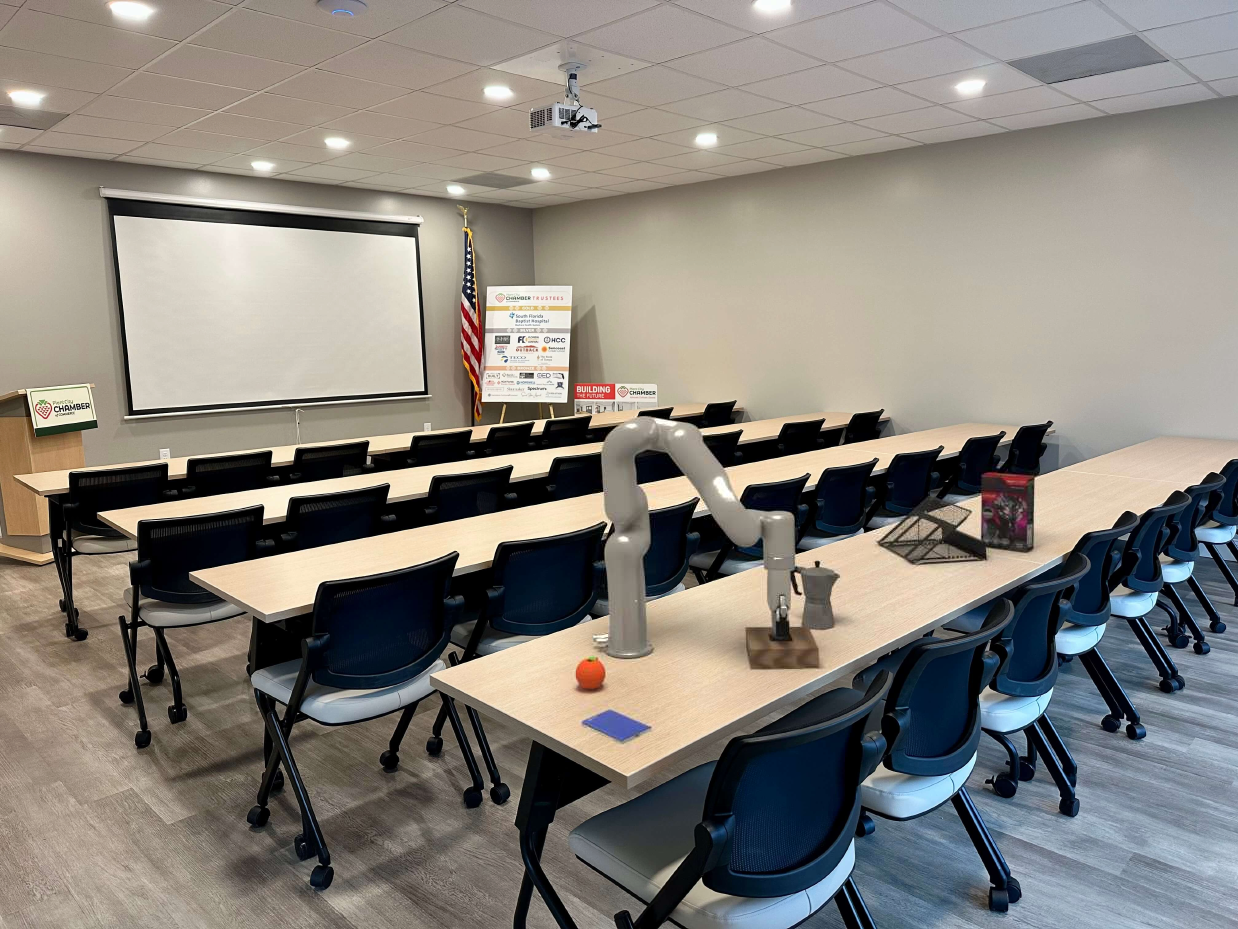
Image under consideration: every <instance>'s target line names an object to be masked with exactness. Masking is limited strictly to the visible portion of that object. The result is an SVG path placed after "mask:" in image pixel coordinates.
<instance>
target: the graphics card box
mask: <svg viewBox="0 0 1238 929" xmlns="http://www.w3.org/2000/svg"><path fill="white" fill-rule="evenodd" d="M1035 478H1036V475H1027V474H1026V475H1025V474H1012V473H1001V472H1000V473H998V472H985V473H983V474H982V475H981V498H980V499H981V504H980V505H981V507H980V508H981V509H980V510H981V511H980V512H981V513H980V514H981V515H980V516H981V517H980V540H983V541H985V542H986V548H990V549H991V548H992V549H1001V550H1009V551H1017V552H1024V553H1026V552H1027V553H1028V552H1029V551H1032V550H1034V548H1035V547H1034V545H1035V544H1034V539H1035Z"/></svg>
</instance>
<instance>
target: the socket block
mask: <svg viewBox="0 0 1238 929" xmlns="http://www.w3.org/2000/svg"><path fill="white" fill-rule="evenodd" d="M744 629H745V649H746V654H747V658H748V663H749V668H750V670H803V669H802V668H820V665H819V664H820V663H819V662H820V660H819V659H820V655H819V654H820V653H819V646H818V645H817V642H816V640H815V637H814V636H813V633H812V631H811V629H809V627H804V626H789V632H790V636H789V641H772V626H758V627H755V626H753V627H752V626H751V627H746V626H745V628H744Z"/></svg>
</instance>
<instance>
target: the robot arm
mask: <svg viewBox="0 0 1238 929" xmlns="http://www.w3.org/2000/svg"><path fill="white" fill-rule="evenodd" d="M646 450H650V451H657V452H662V453H667V454H668V455H669V457H670V459H672V461H673V462H674V463H675V465H676V466H677V467H678V468H679V469H680V471H681V472H682V473H683V474H684V476H685V477H686V479H688V481H689V482H690V484H691V485H692V486H693V487H694V489H695V490H696V491H697V493H698V495H699V497H700V498H701V501H702V502H703V503H704V505H705V506H706V508H707V509H708V512H709V513H710V514H711V516H712V517H713V519H714V520H715V521H716V523H717V524H718V525H719V528H721V530H723V532H724V533H725V535H726V536H727V537H728V538H729V540H730V541H732V542H733V543H734V544H735V545H737V546H739V547H742V548H749V547H752V546H753V545H756V543H758V541H759V540H760V539H762V540H763V541H762V542H763V543H762V545H763V569H764V570H765V571H767V572H766V575H767V576H766V579H767V580H766V583H767V584H766V585H767V587H766V602H767V606H768V608H769V610H770V612H771V616H770V617H772V611H773V610H776V616H777V620H776V637H789V636H790V632H789V627H790V619H789V618H790V617H789V616H790V615H789V611H790V610H791V605H792V604H791V600H792V583H791V574H790V571H792V570H794V569H795V566H796V544H795V543H796V541H795V540H796V538H795V537H796V534H795V532H796V531H795V527H796V526H795V524H796V522H795V516H794V514H792V512H790V511H784V510H774V511H773V510H772V511H764V510H757V509H748V508H747V509H746V508H745V506H744V505H743V504H742V502H741V501H740V500H739V498H738V497H737V495H736V493H735V491H734V489H733V487H732V484H731V482H730V479H729V478H730V477H729V476H728V473H727V472H726V469H725V468H724V467H723V465H722V464H721V463H720V462H719V460H718V459H717V458H716V457H715V455H714V454H713V453H712V451H711V450H710V449H709V448H708V446H707V445H706V444H705V442H704V438H703V435H702V431H701V430H700V429H699V428H698V427H697V426H696V425H694V424H692V423H689V422H684V421H683V422H682V421H677V420H676V421H675V420H669V419H664V418H659V417H658V418H657V417H652V416H646V415H645V416H637V417H634V418H631V419H629V420H626V421H625V422H623V423H621V424H619V425H617V426H616V427H614V429H612V430H611V431H610V432H609V433H608V434H607V435H606V437H605V440H604V442H603V445H602V448H601V469H602V470H601V474H602V487H603V489H602V490H603V503H604V504H603V507H604V512H605V516H606V517H607V519H608V520H609V521H610V523H612V524H613V525H614V532H613V533H612V534H611V535H610V536H609V538H608V539H607V540H606V543H605V546H604V563H605V568H606V569H605V570H606V577H607V592H608V593H607V594H608V595H607V596H608V616H609V632H605V634H600V633H599V634H598V633H593V635H592V636H593V637H592V638H593V639H592V641H593V643H595V642H596V644H597V645H604V652H605V653H606V655H608V654H609V655H608V656H610V657H614V658H619V659H634V658H642V657H644V656H647V655H649V654H650V653H652V652H653V651H654V644H653V642H652V641H650V640H648V628H647V627H648V626H647V602H646V600H647V599H646V598H647V596H646V581H645V580H646V579H645V570H644V562H643V561H644V560H643V559H644V556H645V554H647V552H648V550H649V548H650V545H651V525H650V514H649V512H650V511H649V502H648V501H649V500H648V496H647V494H646V492H645V490H644V488H642V487H641V486H640V485H638V484H637V483H638V482H637V469H636V463H635V458H636V456H637V454H640V453H642V452H644V451H646ZM779 612H780V614H779Z"/></svg>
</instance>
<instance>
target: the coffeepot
mask: <svg viewBox="0 0 1238 929" xmlns="http://www.w3.org/2000/svg"><path fill="white" fill-rule="evenodd" d="M813 563H814V566H812V567H805V566H797V565H795V569H794V570H792V571H790V574H791V587H792V588H793V593H794V595H796V596H802V595H804V596H805V597H804V598H805V600H804V606H803V611H802V617H801V623H800V624H801V627H809V629H810V630H814V629H815V630H816V631H817V630H818V631H822V630H830V629H832V628H833V627H835V618H834V612H833V605H832V603H831V596H832V592H833V587H834V585H835V584H836V582H837V581H838V580H839V579H841V575H840V574H839V573H836V572H835V570H834V569H830V568H827V567H822V566H821V567H820V564H821V561H820V560H814V562H813ZM795 574H799V575H800V577H801V579H800V580H801V583H802V589H803V592H800V591H799V588H798V587H799V585H798V582H797V578H796V575H795ZM815 630H814V631H815Z"/></svg>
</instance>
